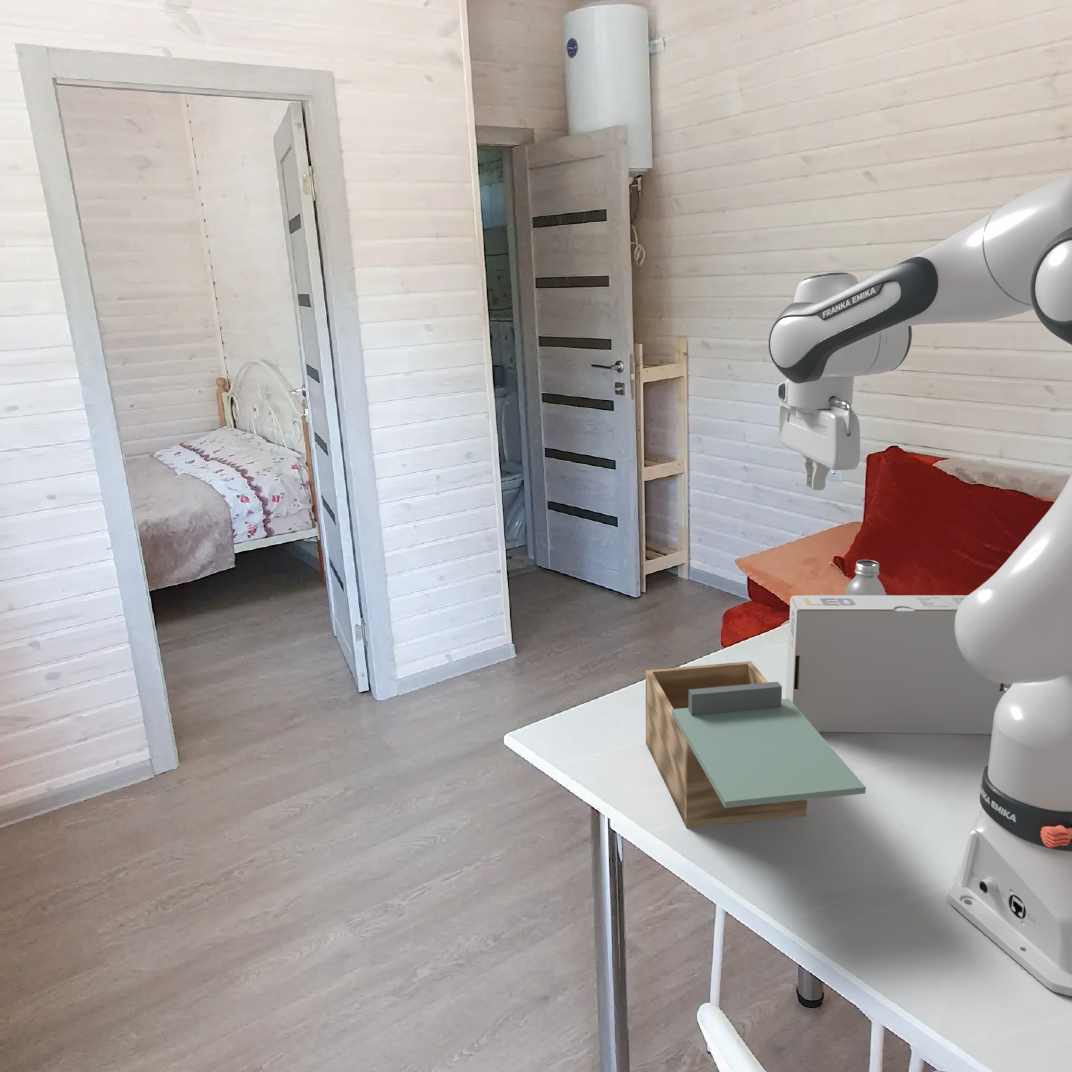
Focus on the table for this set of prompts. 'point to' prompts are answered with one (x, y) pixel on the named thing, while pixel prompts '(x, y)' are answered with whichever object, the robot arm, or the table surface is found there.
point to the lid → (761, 747)
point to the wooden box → (677, 756)
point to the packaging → (885, 666)
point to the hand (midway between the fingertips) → (814, 488)
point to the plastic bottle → (865, 579)
